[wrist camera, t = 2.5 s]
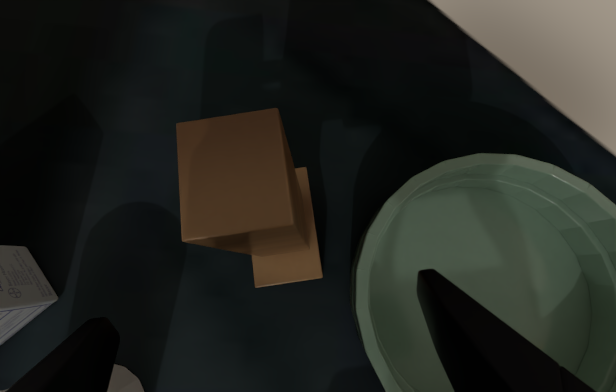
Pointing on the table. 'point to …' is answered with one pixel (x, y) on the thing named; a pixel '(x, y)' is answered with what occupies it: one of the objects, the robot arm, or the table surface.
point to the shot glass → (121, 381)
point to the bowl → (490, 266)
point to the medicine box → (21, 290)
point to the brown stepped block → (248, 195)
